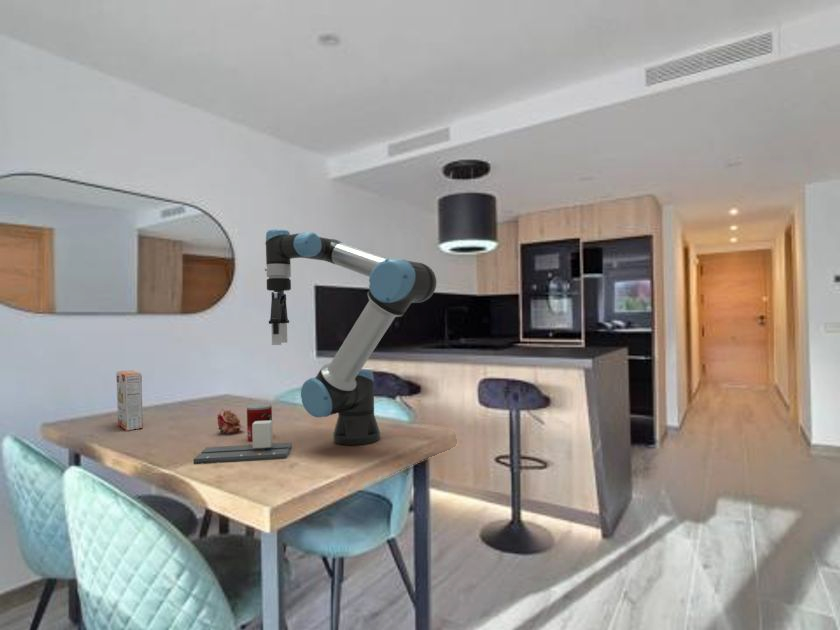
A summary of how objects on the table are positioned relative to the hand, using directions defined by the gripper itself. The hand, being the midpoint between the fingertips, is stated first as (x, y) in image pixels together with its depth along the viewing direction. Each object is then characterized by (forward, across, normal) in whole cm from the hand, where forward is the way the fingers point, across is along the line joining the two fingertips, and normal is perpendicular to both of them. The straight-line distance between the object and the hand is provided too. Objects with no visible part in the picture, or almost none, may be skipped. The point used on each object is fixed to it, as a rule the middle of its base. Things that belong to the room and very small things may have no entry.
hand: (280, 343), depth 153 cm
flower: (+32, -17, -20) cm, 41 cm away
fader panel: (+32, +13, -8) cm, 35 cm away
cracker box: (+32, -35, -61) cm, 77 cm away
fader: (+32, +13, -4) cm, 34 cm away
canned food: (+32, -6, -8) cm, 33 cm away
